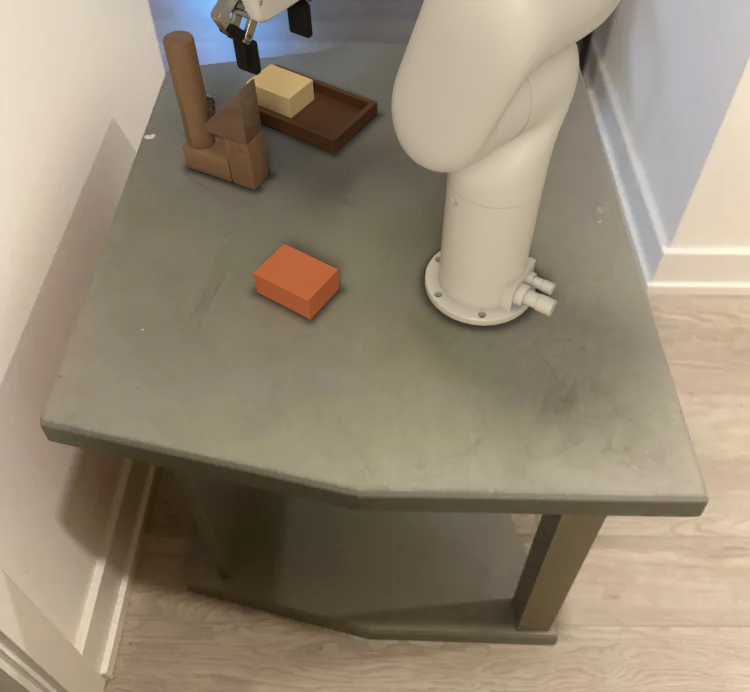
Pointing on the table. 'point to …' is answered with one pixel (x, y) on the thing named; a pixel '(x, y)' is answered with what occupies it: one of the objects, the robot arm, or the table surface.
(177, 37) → the brown l-shaped piece
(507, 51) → the robot arm
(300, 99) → the sand pad
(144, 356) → the table surface
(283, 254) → the terracotta pad
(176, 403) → the table surface
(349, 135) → the frame
